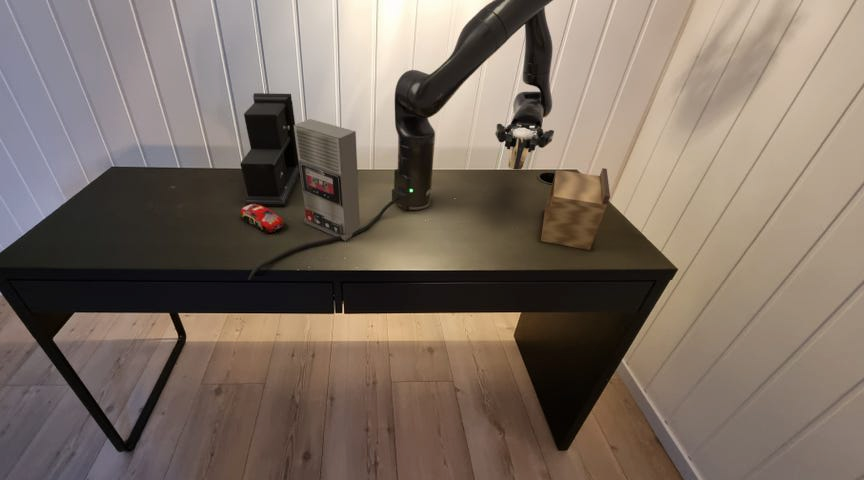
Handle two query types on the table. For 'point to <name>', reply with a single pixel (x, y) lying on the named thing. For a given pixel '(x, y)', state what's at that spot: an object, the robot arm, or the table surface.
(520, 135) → the milkshake
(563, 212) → the block
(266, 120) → the bookend
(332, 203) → the cassette tape recorder
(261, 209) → the race car
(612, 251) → the table surface
